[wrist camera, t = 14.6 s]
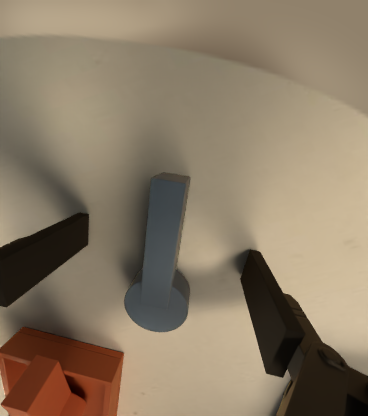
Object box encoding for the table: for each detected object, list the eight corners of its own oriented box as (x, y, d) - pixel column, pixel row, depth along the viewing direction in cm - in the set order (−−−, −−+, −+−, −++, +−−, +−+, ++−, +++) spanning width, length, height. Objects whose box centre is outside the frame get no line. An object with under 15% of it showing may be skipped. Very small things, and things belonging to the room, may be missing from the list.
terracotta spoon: (19, 349, 15) (-21, 398, 13) (76, 365, 15) (47, 418, 13) (48, 398, 22) (25, 437, 19) (88, 409, 21) (71, 451, 19)
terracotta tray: (22, 326, 19) (-4, 351, 17) (124, 352, 19) (111, 383, 16) (34, 420, 25) (14, 450, 22) (113, 443, 24) (102, 476, 22)
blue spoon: (142, 168, 13) (124, 173, 10) (211, 180, 13) (213, 187, 10) (132, 305, 17) (117, 336, 14) (185, 317, 16) (181, 351, 14)
